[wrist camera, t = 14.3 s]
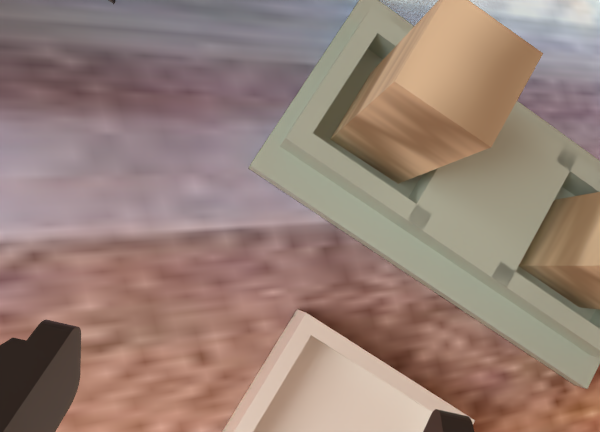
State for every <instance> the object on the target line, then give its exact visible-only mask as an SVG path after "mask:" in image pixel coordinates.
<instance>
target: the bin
mask: <svg viewBox="0 0 600 432" xmlns="http://www.w3.org/2000/svg"><path fill="white" fill-rule="evenodd" d="M435 409H438V410H443V411H447V412H451V413H456V414H460V415H465V416H467V415H466V414H464V413H463V412H461V411H459V410H458V409H456V408H455V407H453V406H452V405H450V404H449V403H447V402H445V401H444V400H442V399H441V398H439V397H438V396H436V395H434V394H433V393H431V392H430V391H428V390H427V389H425V388H423V387H422V386H420V385H419V384H417V383H416V382H414V381H412V380H411V379H409V378H408V377H406V376H405V375H403V374H401V373H400V372H398V371H397V370H395V369H394V368H392V367H391V366H389V365H387V364H386V363H384V362H383V361H381V360H380V359H378V358H376V357H375V356H373V355H372V354H370V353H369V352H367V351H365V350H364V349H362V348H361V347H359V346H358V345H356V344H354V343H353V342H351V341H350V340H348V339H347V338H345V337H343V336H342V335H340V334H339V333H337V332H336V331H334V330H333V329H331V328H329V327H328V326H326V325H325V324H323V323H322V322H320V321H318V320H317V319H315V318H314V317H312V316H311V315H309V314H307V313H306V312H303V311H301V310H298V309H297V310H296V312H295V313H294V315H293V317H292V318H291V320H290V322H289V323H288V325H287V326H286V328H285V330H284V331H283V333H282V335H281V336H280V338H279V340H278V341H277V343H276V344H275V346H274V348H273V349H272V351H271V353H270V354H269V356H268V357H267V359H266V361H265V362H264V364H263V366H262V367H261V369H260V371H259V372H258V374H257V375H256V377H255V379H254V380H253V382H252V384H251V385H250V387H249V389H248V390H247V392H246V393H245V395H244V397H243V398H242V400H241V402H240V403H239V405H238V406H237V408H236V410H235V411H234V413H233V415H232V416H231V418H230V420H229V421H228V423H227V424H226V426H225V428H224V429H223V431H222V432H423V431H424V429H425V427H426V424H427V422H428V420H429V418H430V416H431V414H432V412H433V411H434V410H435ZM470 419H471V421H472V424H474V422H475V420H474V419H472V418H470Z"/></svg>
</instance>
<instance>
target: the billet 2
mask: <svg viewBox="0 0 600 432" xmlns="http://www.w3.org/2000/svg"><path fill="white" fill-rule="evenodd" d="M519 267H521V268H522V269H524V270H525V271H527V272H528V273H530V274H531V275H532V276H534V277H535V278H537V279H538V280H540V281H541V282H543V283H544V284H546V285H547V286H549V287H550V288H552V289H553V290H554V291H556V292H557V293H559V294H560V295H562V296H563V297H565V298H566V299H568V300H569V301H571V302H572V303H573V304H575V305H576V306H578V307H581V308H590V309H599V310H600V192H596V193H590V194H584V195H579V196H573V197H568V198H562V199H556V200H554V201H553V203H552V205H551V207H550V209H549V211H548V212H547V214H546V216H545V218H544V220H543V222H542V223H541V225H540V227H539V229H538V231H537V233H536V235H535V236H534V238H533V240H532V242H531V244H530V246H529V247H528V249H527V251H526V253H525V255H524V257H523V258H522V260H521V262H520V264H519Z"/></svg>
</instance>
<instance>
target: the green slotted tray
mask: <svg viewBox="0 0 600 432" xmlns="http://www.w3.org/2000/svg"><path fill="white" fill-rule="evenodd" d="M413 27H414V26H413V25H412V24H410V23H409V22H407V21H406V20H405V19H403V18H402V17H401V16H399V15H398V14H396V13H395V12H394V11H392V10H391V9H390V8H388V7H387V6H385V5H384V4H383V3H381V2H380V1H379V0H359V1H358V3H357V4H356V6H355V7H354V9H353V10H352V12H351V13H350V15H349V16H348V18H347V19H346V21H345V23H344V24H343V26H342V27H341V29H340V30H339V32H338V33H337V35H336V36H335V38H334V39H333V41H332V42H331V44H330V45H329V47H328V48H327V50H326V51H325V53H324V54H323V56H322V57H321V59H320V60H319V62H318V63H317V65H316V66H315V68H314V69H313V71H312V72H311V74H310V75H309V77H308V78H307V80H306V81H305V83H304V84H303V86H302V87H301V89H300V90H299V92H298V93H297V95H296V97H295V98H294V100H293V101H292V103H291V104H290V106H289V107H288V109H287V110H286V112H285V113H284V115H283V116H282V118H281V119H280V121H279V122H278V124H277V125H276V127H275V128H274V130H273V131H272V133H271V134H270V136H269V137H268V139H267V140H266V142H265V143H264V145H263V146H262V148H261V149H260V151H259V152H258V154H257V155H256V157H255V158H254V160H253V161H252V163H251V164H250V166H249V169H250V170H252V171H253V172H255V173H256V174H258V175H259V176H261V177H262V178H264V179H265V180H267V181H268V182H270V183H271V184H273V185H274V186H276V187H277V188H279V189H280V190H282V191H283V192H285V193H286V194H288V195H289V196H291V197H292V198H294V199H295V200H297V201H298V202H300V203H301V204H303V205H304V206H306V207H307V208H309V209H310V210H312V211H313V212H315V213H316V214H318V215H319V216H321V217H322V218H324V219H325V220H327V221H328V222H330V223H331V224H333V225H334V226H336V227H337V228H339V229H340V230H342V231H343V232H345V233H347V234H348V235H350V236H351V237H353V238H354V239H356V240H357V241H359V242H360V243H362V244H363V245H365V246H366V247H368V248H369V249H371V250H372V251H374V252H375V253H377V254H378V255H380V256H381V257H383V258H384V259H386V260H387V261H389V262H390V263H392V264H393V265H395V266H396V267H398V268H399V269H401V270H402V271H404V272H405V273H407V274H408V275H410V276H411V277H413V278H414V279H416V280H417V281H419V282H420V283H422V284H423V285H425V286H426V287H428V288H429V289H431V290H432V291H434V292H435V293H437V294H438V295H440V296H441V297H443V298H445V299H446V300H448V301H449V302H451V303H452V304H454V305H455V306H457V307H458V308H460V309H461V310H463V311H464V312H466V313H467V314H469V315H470V316H472V317H473V318H475V319H476V320H478V321H479V322H481V323H482V324H484V325H485V326H487V327H488V328H490V329H491V330H493V331H494V332H496V333H497V334H499V335H500V336H502V337H503V338H505V339H506V340H508V341H509V342H511V343H512V344H514V345H515V346H517V347H518V348H520V349H521V350H523V351H524V352H526V353H527V354H529V355H530V356H532V357H533V358H535V359H536V360H538V361H539V362H541V363H543V364H544V365H546V366H547V367H549V368H550V369H552V370H553V371H555V372H556V373H558V374H559V375H561V376H562V377H564V378H565V379H567V380H568V381H570V382H571V383H573V384H574V385H576V386H579V387H582V388H585V389H588V387H589V385H590V383H591V381H592V378H593V376H594V374H595V372H596V370H597V368H598V366H599V364H600V310H599V309H590V308H581V307H578V306H576V305H575V304H573V303H572V302H571V301H569V300H568V299H566V298H565V297H563V296H562V295H560V294H559V293H557V292H556V291H554V290H553V289H552V288H550V287H549V286H547V285H546V284H544V283H543V282H541V281H540V280H538V279H537V278H535V277H534V276H532V275H531V274H530V273H528V272H527V271H525V270H524V269H522V268H521V267H519V264H520V262H521V260H522V258H523V257H524V255H525V253H526V251H527V249H528V247H529V246H530V244H531V242H532V240H533V238H534V236H535V235H536V233H537V231H538V229H539V227H540V225H541V223H542V222H543V220H544V218H545V216H546V214H547V212H548V211H549V209H550V207H551V205H552V203H553V201H554V200H556V199H562V198H568V197H573V196H579V195H584V194H590V193H596V192H600V161H599V160H598V159H596V158H595V157H594V156H592V155H591V154H590V153H588V152H587V151H585V150H584V149H583V148H581V147H580V146H579V145H577V144H576V143H574V142H573V141H572V140H570V139H569V138H567V137H566V136H565V135H563V134H562V133H561V132H559V131H558V130H556V129H555V128H554V127H552V126H551V125H550V124H548V123H547V122H545V121H544V120H543V119H541V118H540V117H539V116H537V115H536V114H534V113H533V112H532V111H530V110H529V109H527V108H526V107H525V106H523V105H522V104H521V103H519V102H518V101H517V102H516V103H515V105H514V107H513V109H512V111H511V112H510V114H509V116H508V118H507V120H506V122H505V123H504V125H503V127H502V129H501V131H500V132H499V134H498V136H497V138H496V140H495V142H494V143H493V145H492V147H491V148H488V149H486V150H483V151H481V152H478V153H476V154H473V155H470V156H468V157H465V158H463V159H460V160H458V161H455V162H452V163H450V164H447V165H445V166H442V167H440V168H437V169H434V170H432V171H429V172H427V173H424V174H422V175H419V176H417V177H414V178H411V179H409V180H406V181H404V182H401V183H399V184H398V183H396V182H394V181H393V180H391V179H390V178H388V177H387V176H385V175H384V174H382V173H381V172H379V171H378V170H376V169H375V168H373V167H372V166H370V165H369V164H367V163H366V162H364V161H362V160H361V159H359V158H358V157H356V156H355V155H353V154H352V153H350V152H349V151H347V150H346V149H344V148H343V147H341V146H340V145H338V144H337V143H335V142H333V141H332V140H330V139H331V137H332V135H333V134H334V132H335V130H336V129H337V127H338V125H339V124H340V122H341V121H342V119H343V117H344V116H345V114H346V112H347V111H348V109H349V107H350V106H351V104H352V102H353V101H354V99H355V98H356V96H357V94H358V93H359V91H360V89H361V88H362V86H363V84H364V83H365V81H366V80H367V78H368V76H369V75H370V73H371V72H372V71H373V70H374V69H375V68H376V67H377V66H378V64H379V63H380V62H381V61H382V60H383V59H384V58H385V57H386V56H387V55H388V54H389V53H390V52H391V51H392V50H393V49H394V47H395V46H396V45H397V44H398V43H399V42H400V41H401V40H402V39H403V38H404V37H405V36H406V35H407V34H408V33H409V32H410V30H411V29H412V28H413Z"/></svg>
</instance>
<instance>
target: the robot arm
mask: <svg viewBox="0 0 600 432" xmlns="http://www.w3.org/2000/svg"><path fill="white" fill-rule="evenodd" d="M80 358H81V330H80V328H79V327H76V326H72V325H67V324H63V323H58V322H54V321H50V320H44V321H42V322H41V323H40V324H39V325H38V327H37V328H36V329H35V330H34V332H33V333H32V334H31V336H30V337H29V338H28V340H27V341H25V340H21V339H16V338H12V339H10V340H8V341H7V342H5V343H3V344H2V345H0V432H55V431H56V429H57V428H58V426H59V424H60V423H61V421H62V419H63V417H64V416H65V414H66V412H67V411H68V409H69V407H70V405H71V404H72V402H73V399H74V397H75V395H76V392H77V389H78V385H79V380H80ZM423 432H474V428H473V424H472V421H471V419H470V417H469V416H465V415H460V414H456V413H451V412H447V411H443V410H438V409H435V410H434V411H433V412H432V414H431V416H430V418H429V420H428V422H427V424H426V427H425V429H424V431H423Z"/></svg>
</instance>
